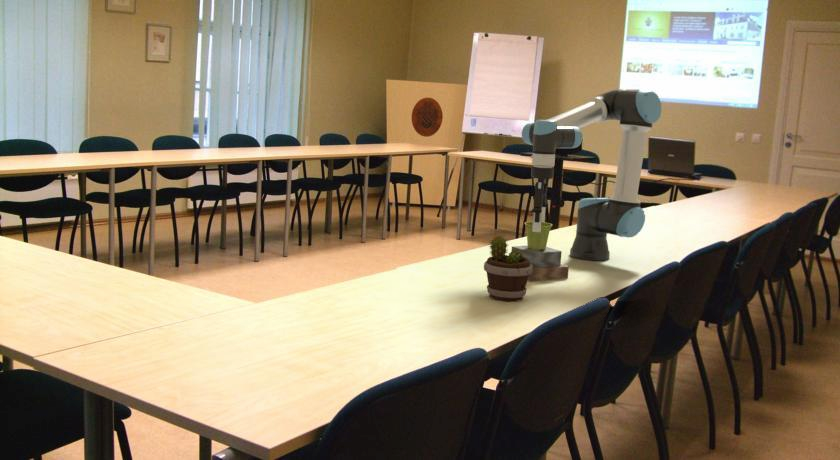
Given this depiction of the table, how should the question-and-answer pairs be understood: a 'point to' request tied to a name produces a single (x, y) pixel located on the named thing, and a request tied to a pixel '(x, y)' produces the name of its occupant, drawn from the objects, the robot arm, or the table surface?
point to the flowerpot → (506, 272)
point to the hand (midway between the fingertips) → (538, 228)
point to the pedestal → (544, 263)
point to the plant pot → (537, 236)
